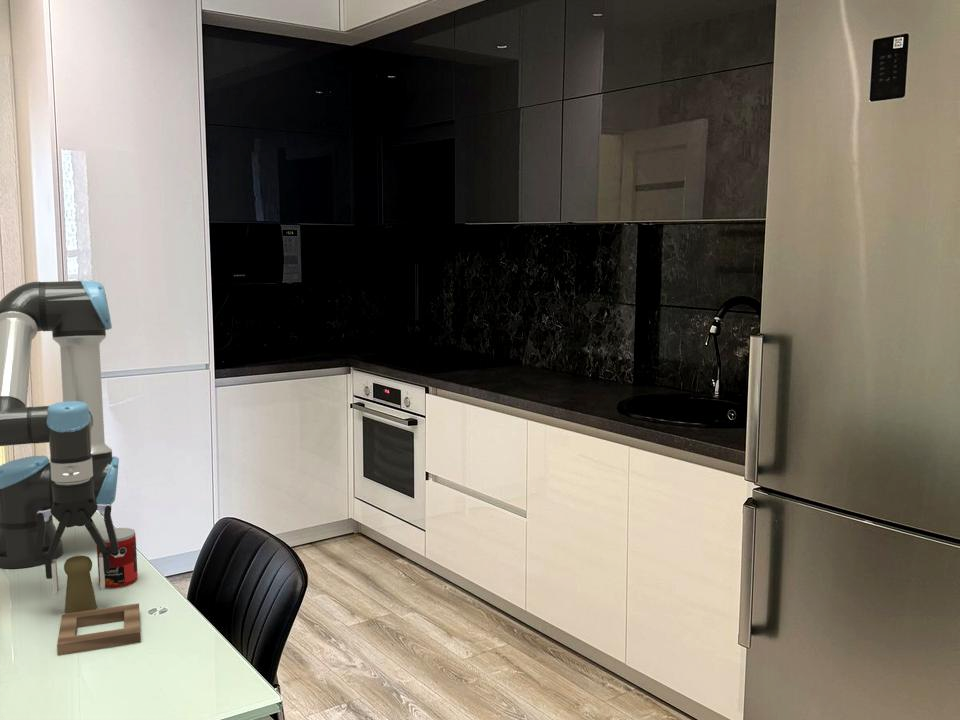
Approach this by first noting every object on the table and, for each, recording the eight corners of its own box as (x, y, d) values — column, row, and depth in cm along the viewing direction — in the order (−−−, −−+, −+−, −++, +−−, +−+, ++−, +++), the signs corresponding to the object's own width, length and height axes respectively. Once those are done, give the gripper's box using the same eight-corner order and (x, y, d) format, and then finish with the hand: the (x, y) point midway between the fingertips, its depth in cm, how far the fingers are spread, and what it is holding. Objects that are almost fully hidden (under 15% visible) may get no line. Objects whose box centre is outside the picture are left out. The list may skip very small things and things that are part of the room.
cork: (84, 617, 175) (81, 564, 173) (57, 614, 176) (54, 561, 174) (103, 604, 181) (100, 553, 179) (77, 602, 182) (74, 551, 180)
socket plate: (62, 623, 172) (62, 614, 171) (139, 612, 177) (139, 603, 177) (57, 655, 159) (56, 644, 159) (140, 642, 164) (140, 632, 164)
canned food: (91, 586, 190) (87, 537, 189) (117, 573, 198) (115, 525, 196) (119, 590, 188) (116, 541, 186) (145, 577, 195) (142, 529, 194)
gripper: (11, 490, 167) (19, 604, 170) (129, 479, 175) (135, 589, 178) (15, 480, 174) (24, 590, 177) (128, 470, 182) (134, 575, 185)
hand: (79, 589), depth 178 cm, fingers open, 8 cm apart
